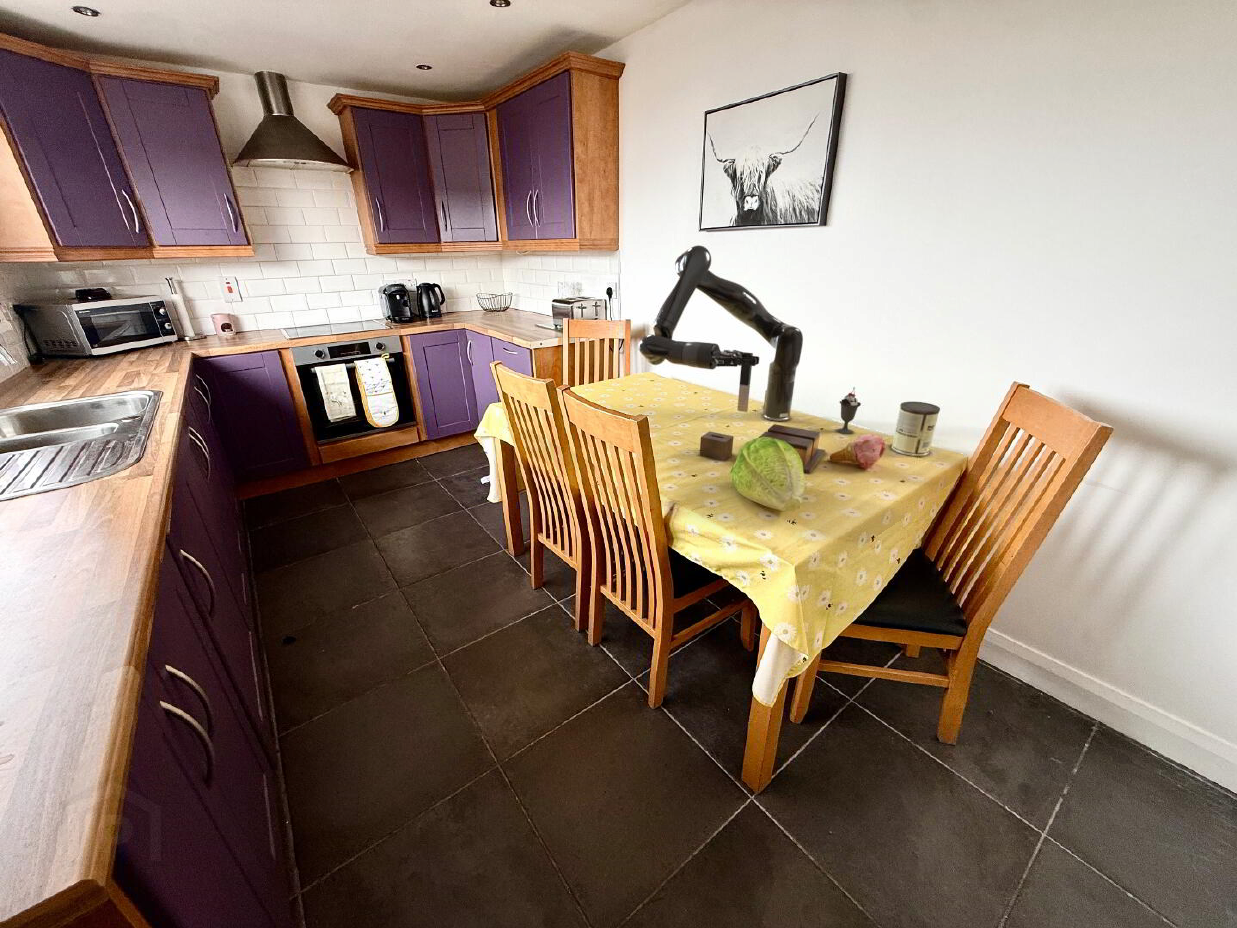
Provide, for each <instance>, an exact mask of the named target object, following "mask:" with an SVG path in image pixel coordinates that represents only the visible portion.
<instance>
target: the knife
mask: <svg viewBox="0 0 1237 928" xmlns="http://www.w3.org/2000/svg"><path fill="white" fill-rule="evenodd" d="M743 352H744V353H742V356H743V357H752V358H753V356H754V353H753V352H745V351H743ZM752 369H753V366H748V365H743V364H742V365H741V366H740V374H739V387H738V399H737V411H738V412H744V413H748V411H749V402H750V401H749V400H750V390H751V380H752Z"/></svg>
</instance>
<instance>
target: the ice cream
mask: <svg viewBox="0 0 1237 928" xmlns="http://www.w3.org/2000/svg"><path fill="white" fill-rule="evenodd" d="M885 452H886V442H885V440H884V439H883V438H882V437H881V436H879V435H876V434H871V433H869V434H868V433H864V434H861V435H859V436H858V437H857V438H855V440H854V442H853V441H852V442H849V443H848V444H847V445H846V446H845V447H844V448H842V449H841V450H838V451H835V452H834V453H831V454H830V455H829V461H830V462H832V463H840V462H850V463H853V464H857V463H858V467H860V468H861V469H869V468H872V467H873V466H874V464H876V463H877V462H878V461H879V460H880V459H881V458H882V457H883V455H884V454H885Z"/></svg>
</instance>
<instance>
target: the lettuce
mask: <svg viewBox="0 0 1237 928" xmlns="http://www.w3.org/2000/svg"><path fill="white" fill-rule="evenodd" d="M729 474H730V478H731V481H732V485H733V487H734V488H735V489H736V491H737V492H738V493H739V494H740V495H741V496H743V497H745V498H746V499H748V500H750V501H752V502H754V503H757V504H759V505H762V506H765V507H768V508H769V509H773V510H777V511H783V512H790V513H791V512H792V513H793V512H796V511H797V510H800V509H801V505H802V504H803V500H804V495H805V492H806V488H807V483H806V477H805V472H803V462H802V460H801V458H800V456H799V454H798V452H797V451H796V450H795V449H794V448H793V447H792V446H791V445H789V444H788V443H787V442H785V441H783V440H778V439H774V438H770V437H762V438H759V437H756V438H753V439H751V440H748V441H746V442H745V443H744V444H743V445H742V447H741V448H740V449H739V451H738V453H737V456H736V459H735V462H734V464H733V465H732V467H731V469H730V470H729Z"/></svg>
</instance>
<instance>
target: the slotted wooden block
mask: <svg viewBox="0 0 1237 928" xmlns="http://www.w3.org/2000/svg"><path fill="white" fill-rule="evenodd" d="M820 435H821V432H820V431H816V430H810V429H804V428H798V427H794V426H793V427H792V426H788V425H781V424H776V423H773V424H772V425H771V426H770V427H769V428H768V429H767V431H763V432H762V434H761V435H759V436H758V438H762V437H770V438H774V439H778V440H783V441H785V442H787V443H788V444H789V445H791V446H792V447H793V448H794V449H795V450H796V451H797V452H798V454H799V456H800V458H801V460H802V462H803V472H804V474H805V473H806V474H810V473H811V472H812V471H813V470H814V468H815V467H816V465H817V464H818V463H819V462H820V461H821V459H823V457H824V456H825V454H826V449H822V448H819V443H820Z"/></svg>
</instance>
